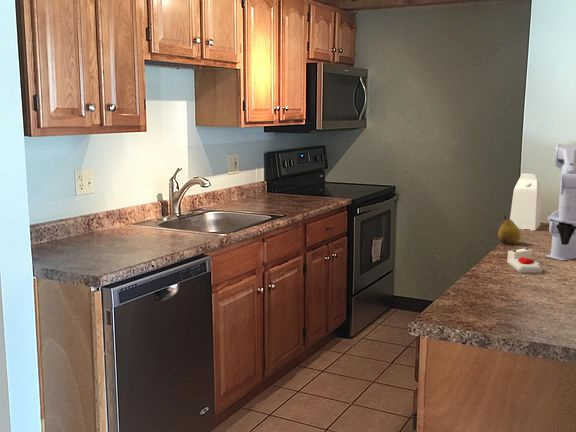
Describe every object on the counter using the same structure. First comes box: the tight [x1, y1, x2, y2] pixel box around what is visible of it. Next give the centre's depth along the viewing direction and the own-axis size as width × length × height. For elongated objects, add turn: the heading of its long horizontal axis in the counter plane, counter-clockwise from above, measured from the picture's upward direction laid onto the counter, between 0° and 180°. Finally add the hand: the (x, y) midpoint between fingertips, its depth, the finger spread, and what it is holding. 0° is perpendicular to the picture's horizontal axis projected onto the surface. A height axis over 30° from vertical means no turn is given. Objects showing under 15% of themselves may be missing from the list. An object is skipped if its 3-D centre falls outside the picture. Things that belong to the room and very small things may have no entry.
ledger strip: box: [506, 246, 533, 264], centre depth 242 cm, size 10×3×5 cm, turn 121°
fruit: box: [497, 215, 521, 245], centre depth 273 cm, size 9×9×12 cm
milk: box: [509, 172, 542, 231], centre depth 307 cm, size 12×12×26 cm
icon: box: [509, 257, 543, 274], centre depth 232 cm, size 12×4×10 cm
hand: (564, 244), depth 230 cm, fingers closed
